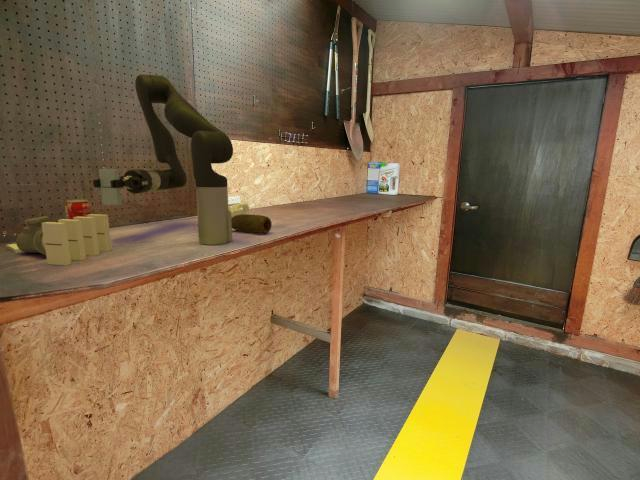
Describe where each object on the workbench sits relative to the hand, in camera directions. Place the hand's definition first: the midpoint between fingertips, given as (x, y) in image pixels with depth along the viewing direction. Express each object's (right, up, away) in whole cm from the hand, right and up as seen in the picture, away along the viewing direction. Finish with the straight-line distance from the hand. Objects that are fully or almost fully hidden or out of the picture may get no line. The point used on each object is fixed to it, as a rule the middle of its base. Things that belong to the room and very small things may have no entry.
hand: (103, 183), depth 100 cm
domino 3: (-1, -20, -5) cm, 20 cm away
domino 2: (-2, -20, -9) cm, 22 cm away
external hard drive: (-20, -18, +3) cm, 28 cm away
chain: (+21, -8, +53) cm, 57 cm away
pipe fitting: (-13, -20, -5) cm, 24 cm away
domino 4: (0, -5, +4) cm, 7 cm away
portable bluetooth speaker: (+36, -13, +29) cm, 48 cm away
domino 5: (0, -19, 0) cm, 19 cm away
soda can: (-16, -15, +15) cm, 26 cm away
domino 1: (-2, -21, -13) cm, 25 cm away
